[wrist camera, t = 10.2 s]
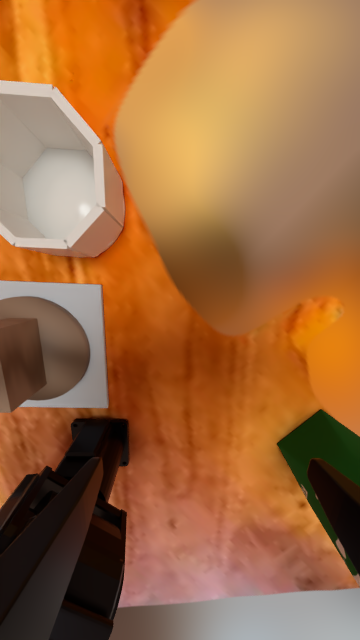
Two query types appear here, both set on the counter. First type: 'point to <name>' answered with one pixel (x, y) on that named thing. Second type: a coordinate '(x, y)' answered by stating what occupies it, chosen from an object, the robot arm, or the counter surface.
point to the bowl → (54, 176)
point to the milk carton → (333, 447)
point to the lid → (39, 351)
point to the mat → (90, 314)
